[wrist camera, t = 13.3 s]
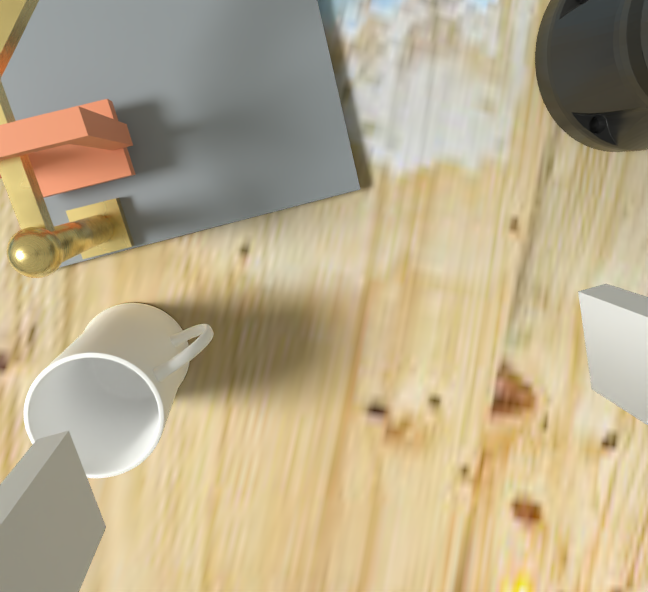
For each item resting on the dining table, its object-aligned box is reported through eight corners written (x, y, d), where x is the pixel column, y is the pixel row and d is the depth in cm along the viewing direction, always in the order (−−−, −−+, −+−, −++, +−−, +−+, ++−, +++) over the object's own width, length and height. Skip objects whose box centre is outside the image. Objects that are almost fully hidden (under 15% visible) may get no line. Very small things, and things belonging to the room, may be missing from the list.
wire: (216, -30, 39) (194, -143, 25) (278, 207, 43) (290, 225, 29) (2, 19, 38) (-144, -70, 24) (86, 257, 42) (2, 300, 28)
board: (293, -92, 40) (294, -100, 39) (357, 188, 45) (360, 189, 43) (-62, -12, 38) (-71, -18, 37) (44, 270, 43) (38, 272, 42)
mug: (198, 267, 44) (178, 302, 33) (244, 361, 47) (241, 425, 35) (59, 329, 44) (-11, 385, 33) (112, 421, 46) (64, 504, 35)
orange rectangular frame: (-11, 131, 38) (-128, 113, 26) (122, 98, 38) (65, 67, 27) (17, 204, 39) (-84, 218, 27) (145, 172, 40) (100, 172, 28)
